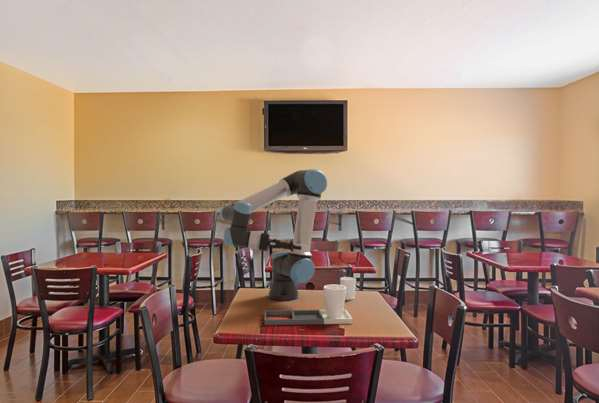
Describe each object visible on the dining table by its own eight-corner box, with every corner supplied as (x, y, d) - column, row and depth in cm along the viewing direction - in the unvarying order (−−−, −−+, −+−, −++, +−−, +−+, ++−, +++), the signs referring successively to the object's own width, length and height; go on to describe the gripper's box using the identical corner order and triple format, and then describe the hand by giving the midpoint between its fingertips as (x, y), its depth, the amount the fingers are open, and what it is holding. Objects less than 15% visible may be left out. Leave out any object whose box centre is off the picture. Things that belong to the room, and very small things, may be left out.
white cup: (337, 299, 199) (337, 279, 199) (343, 295, 206) (343, 276, 206) (352, 301, 195) (352, 280, 195) (357, 297, 202) (358, 278, 202)
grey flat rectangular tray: (264, 325, 158) (264, 320, 158) (264, 315, 171) (264, 310, 171) (352, 323, 161) (352, 318, 161) (345, 313, 174) (345, 309, 174)
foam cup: (345, 315, 171) (346, 284, 171) (346, 321, 162) (346, 290, 162) (323, 314, 172) (324, 284, 172) (322, 320, 163) (323, 289, 163)
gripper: (259, 248, 186) (304, 255, 187) (256, 251, 162) (308, 259, 163) (262, 232, 187) (307, 239, 188) (259, 232, 163) (311, 241, 163)
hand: (307, 248), depth 175 cm, fingers open, 12 cm apart
